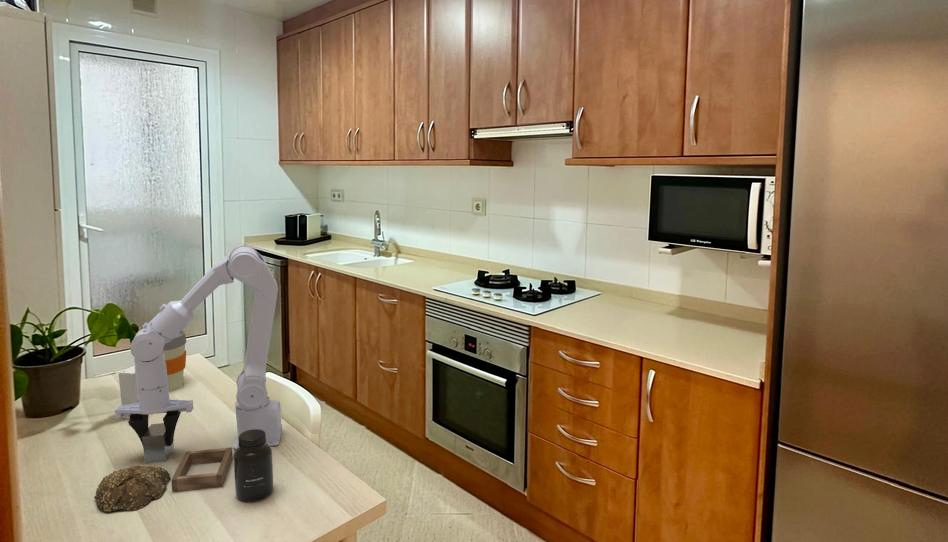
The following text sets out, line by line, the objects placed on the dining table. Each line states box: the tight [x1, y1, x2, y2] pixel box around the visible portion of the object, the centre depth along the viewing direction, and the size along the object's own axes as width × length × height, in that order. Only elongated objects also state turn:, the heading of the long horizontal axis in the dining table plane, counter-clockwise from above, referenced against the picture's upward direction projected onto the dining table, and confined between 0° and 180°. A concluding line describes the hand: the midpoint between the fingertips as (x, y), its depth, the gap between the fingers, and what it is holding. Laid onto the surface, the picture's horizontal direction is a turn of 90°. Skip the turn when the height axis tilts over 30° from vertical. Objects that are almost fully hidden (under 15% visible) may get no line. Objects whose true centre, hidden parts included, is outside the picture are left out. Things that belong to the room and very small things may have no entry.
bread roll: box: [93, 465, 172, 513], centre depth 108 cm, size 13×12×5 cm
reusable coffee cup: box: [163, 329, 187, 392], centre depth 158 cm, size 13×13×15 cm
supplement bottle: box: [233, 429, 274, 503], centre depth 108 cm, size 7×7×12 cm
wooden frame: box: [170, 447, 234, 493], centre depth 115 cm, size 9×11×2 cm
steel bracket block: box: [142, 422, 175, 464], centre depth 122 cm, size 6×4×6 cm, turn 13°
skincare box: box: [118, 365, 139, 420], centre depth 141 cm, size 6×4×12 cm
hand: (158, 444), depth 122 cm, fingers closed on steel bracket block, 4 cm apart
